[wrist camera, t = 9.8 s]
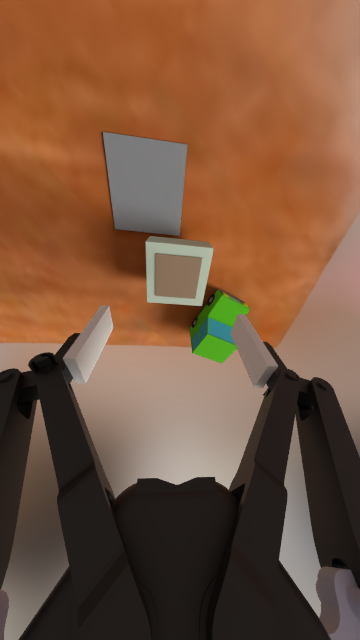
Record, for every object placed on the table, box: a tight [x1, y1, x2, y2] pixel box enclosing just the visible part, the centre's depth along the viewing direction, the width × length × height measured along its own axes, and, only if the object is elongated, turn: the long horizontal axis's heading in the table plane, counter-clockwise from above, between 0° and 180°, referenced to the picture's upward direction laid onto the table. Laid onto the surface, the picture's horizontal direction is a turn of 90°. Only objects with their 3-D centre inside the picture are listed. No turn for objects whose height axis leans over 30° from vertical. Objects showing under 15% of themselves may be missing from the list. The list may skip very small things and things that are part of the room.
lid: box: [146, 236, 214, 306], centre depth 28 cm, size 10×10×5 cm
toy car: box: [190, 289, 249, 363], centre depth 37 cm, size 10×13×10 cm
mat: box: [103, 132, 187, 236], centre depth 26 cm, size 12×12×1 cm
